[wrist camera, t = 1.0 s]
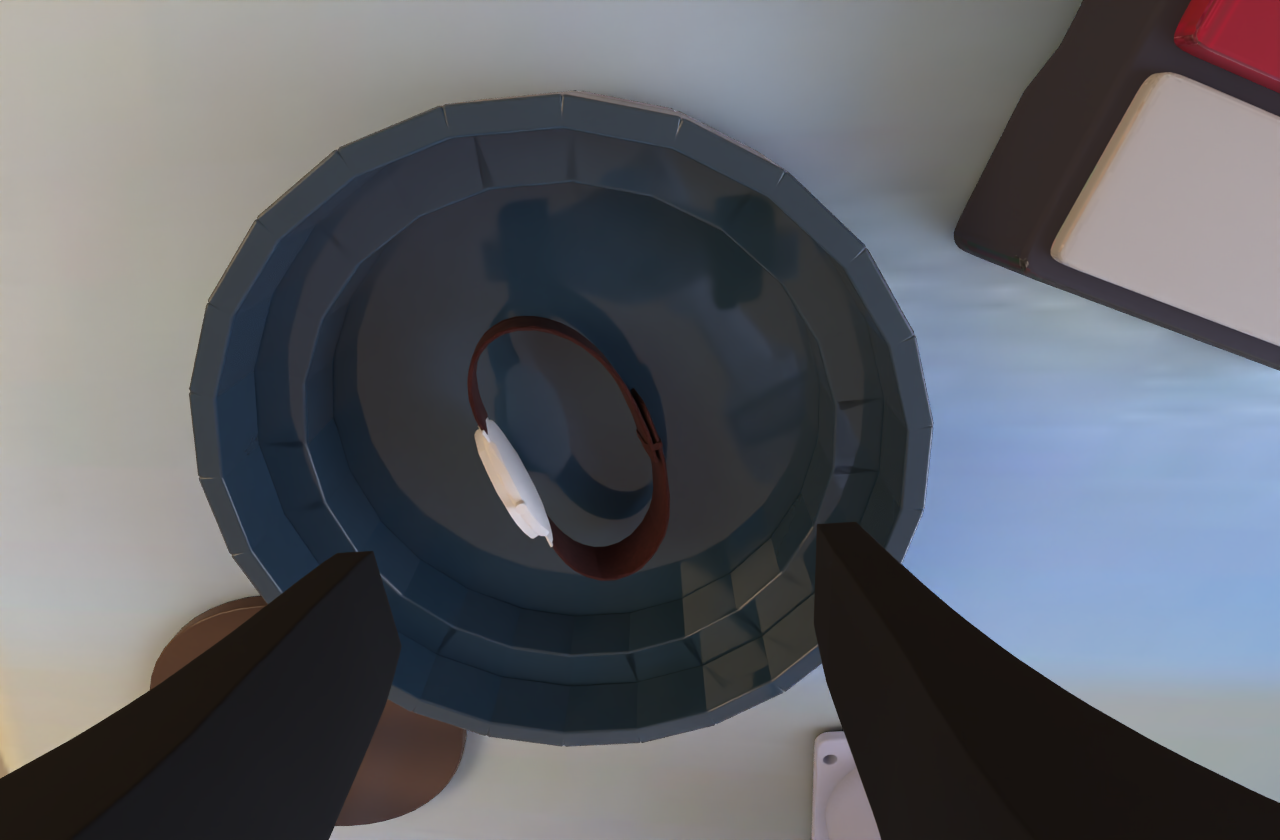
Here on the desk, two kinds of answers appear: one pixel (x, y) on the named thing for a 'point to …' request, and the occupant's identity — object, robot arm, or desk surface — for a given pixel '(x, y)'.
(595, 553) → the watch
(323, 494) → the bowl
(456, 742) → the coaster
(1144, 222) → the calculator
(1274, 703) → the desk surface
